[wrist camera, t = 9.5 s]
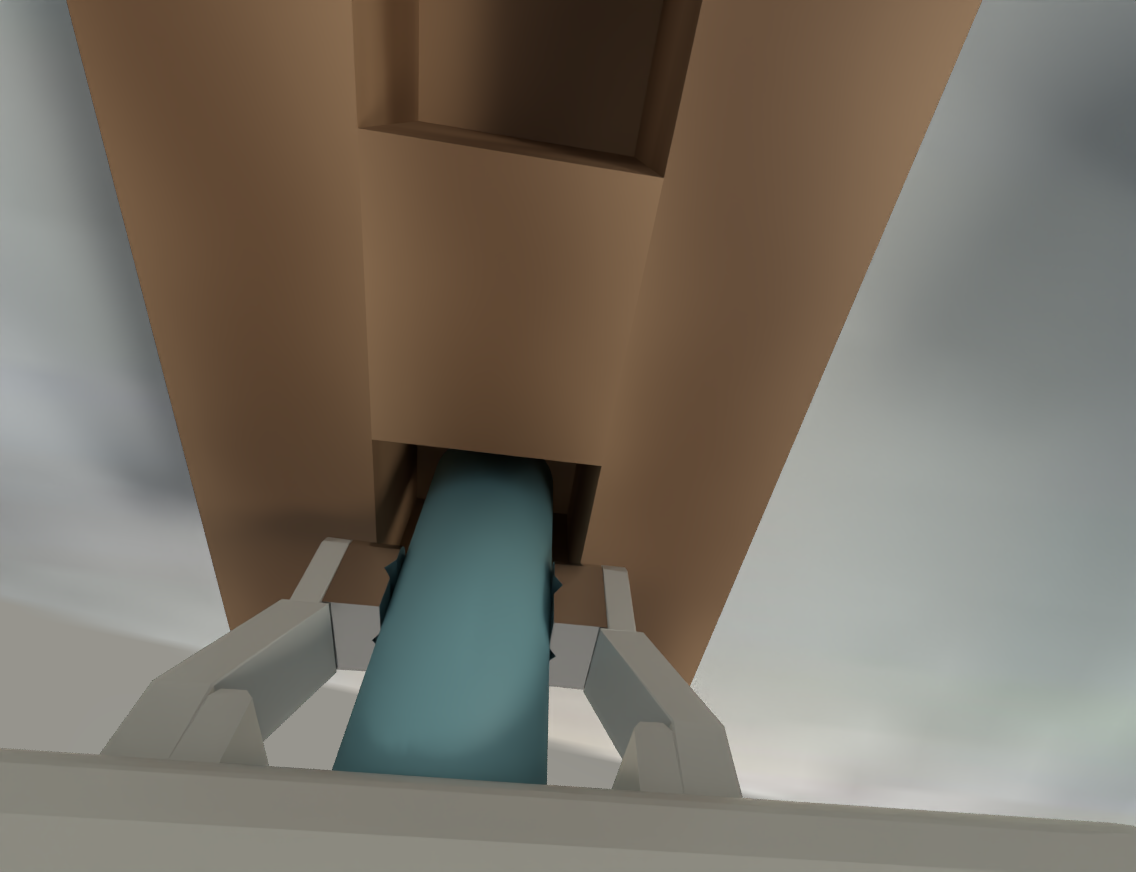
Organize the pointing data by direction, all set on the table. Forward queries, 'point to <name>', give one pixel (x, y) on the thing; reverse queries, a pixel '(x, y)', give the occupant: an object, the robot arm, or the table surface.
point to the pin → (465, 633)
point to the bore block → (505, 256)
